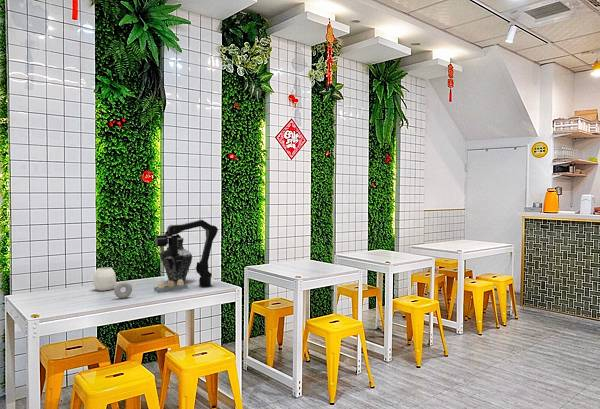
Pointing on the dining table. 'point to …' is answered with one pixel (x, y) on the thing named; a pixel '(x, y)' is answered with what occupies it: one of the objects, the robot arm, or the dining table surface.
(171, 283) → the egg
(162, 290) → the carton
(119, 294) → the grey ring
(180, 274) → the jug
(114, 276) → the cream rounded canister
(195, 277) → the dining table surface
